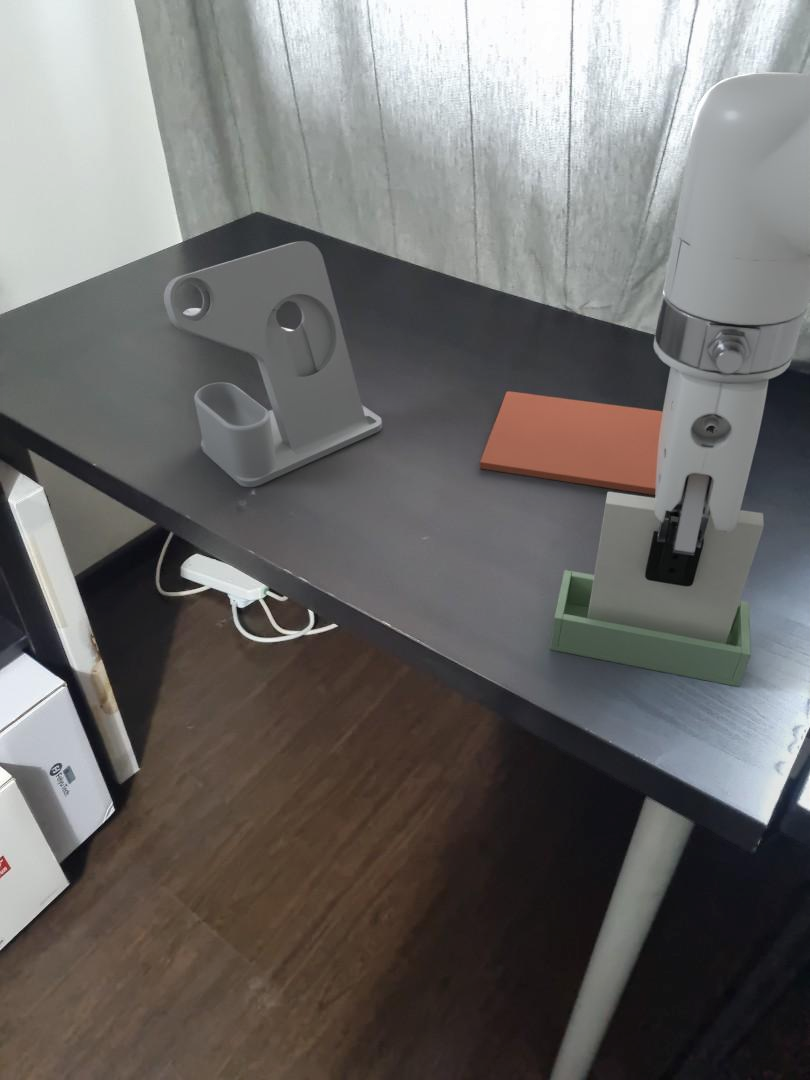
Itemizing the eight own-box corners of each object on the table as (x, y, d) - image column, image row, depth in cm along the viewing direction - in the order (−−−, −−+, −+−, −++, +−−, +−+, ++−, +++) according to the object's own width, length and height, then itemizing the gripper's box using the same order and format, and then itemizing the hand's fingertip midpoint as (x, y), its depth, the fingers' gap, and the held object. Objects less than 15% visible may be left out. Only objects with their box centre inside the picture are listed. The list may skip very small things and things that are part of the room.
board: (723, 639, 62) (763, 512, 54) (723, 652, 61) (764, 526, 53) (587, 615, 64) (607, 490, 56) (585, 628, 63) (605, 503, 55)
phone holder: (243, 492, 78) (211, 315, 67) (192, 446, 85) (155, 276, 73) (387, 427, 87) (381, 259, 75) (331, 390, 93) (318, 229, 81)
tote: (737, 634, 64) (749, 602, 61) (738, 687, 60) (751, 654, 57) (559, 601, 67) (564, 569, 64) (549, 649, 63) (554, 617, 61)
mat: (694, 422, 87) (696, 415, 86) (691, 501, 76) (692, 494, 76) (506, 397, 91) (506, 390, 90) (479, 468, 81) (479, 462, 80)
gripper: (809, 406, 40) (725, 662, 52) (789, 278, 51) (724, 512, 63) (649, 388, 41) (603, 639, 53) (664, 268, 53) (623, 497, 65)
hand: (669, 569), depth 58 cm, fingers closed on board, 1 cm apart
